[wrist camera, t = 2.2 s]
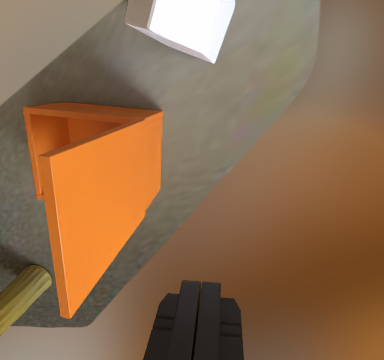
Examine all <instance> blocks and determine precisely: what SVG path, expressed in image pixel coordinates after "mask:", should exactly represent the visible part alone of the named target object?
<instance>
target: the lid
mask: <svg viewBox="0 0 384 360" xmlns="http://www.w3.org/2000/svg"><path fill="white" fill-rule="evenodd" d="M38 159H39V166H40V173H41V180H42V187H43V194H44V201H45V208H46V215H47V222H48V229H49V236H50V243H51V250H52V257H53V264H54V271H55V278H56V286H57V293H58V300H59V307H60V314H61V317H64V318H69V319H71V317H72V316H73V314H74V313H75V312H76V310H77V309H78V308H79V306H80V305H81V303H82V302H83V301H84V299H85V298H86V297H87V295H88V294H89V292H90V291H91V290H92V288H93V287H94V286H95V284H96V283H97V281H98V280H99V279H100V277H101V276H102V275H103V273H104V272H105V270H106V269H107V268H108V266H109V265H110V264H111V262H112V261H113V259H114V258H115V257H116V255H117V254H118V253H119V251H120V250H121V248H122V247H123V246H124V244H125V243H126V241H127V240H128V239H129V237H130V236H131V235H132V233H133V232H134V230H135V229H136V228H137V226H138V225H139V224H140V222H141V221H142V219H143V218H144V217H145V175H146V120H145V119H138V120H135V121H133V122H130V123H127V124H124V125H121V126H119V127H116V128H113V129H110V130H108V131H105V132H102V133H99V134H96V135H94V136H91V137H88V138H85V139H82V140H80V141H77V142H74V143H71V144H68V145H66V146H63V147H60V148H57V149H54V150H52V151H49V152H46V153H43V154H40V155H38Z"/></svg>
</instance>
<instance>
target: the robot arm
mask: <svg viewBox="0 0 384 360" xmlns="http://www.w3.org/2000/svg"><path fill="white" fill-rule="evenodd" d="M220 291H221V283H215V282H202V288H201V282H200V281H187V280H183V281H182V284H181V289H180V293H179V294H171V293H168V294H167V295H166V296H165V297H164V299H163V300H162V301H161V303H160V304H159V307H158V311H157V314H156V319H155V321H154V324H153V329H152V331H151V335H150V338H149V341H148V345H147V349H146V352H145V355H144V359H143V360H244V356H243V340H242V327H241V311H240V309H239V307H238V305H237V303H236V301H235V299H233V298H220Z"/></svg>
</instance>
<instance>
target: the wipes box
mask: <svg viewBox="0 0 384 360" xmlns="http://www.w3.org/2000/svg"><path fill="white" fill-rule="evenodd" d="M23 113H24V119H25V125H26V132H27V138H28V145H29V151H30V158H31V164H32V171H33V178H34V184H35V191H36V197H37V199H41V200H44V194H43V187H42V180H41V173H40V166H39V159H38V155H40V154H43V153H46V152H49V151H52V150H54V149H57V148H60V147H63V146H66V145H68V144H71V143H74V142H77V141H80V140H82V139H85V138H88V137H91V136H94V135H96V134H99V133H102V132H105V131H108V130H110V129H113V128H116V127H119V126H121V125H124V124H127V123H130V122H133V121H135V120H138V119H145V120H146V175H145V210H146V209H147V208H148V206H149V205H150V203H151V202H152V200H153V199H154V197H155V196H156V194H157V193H158V192H159V190H160V182H161V150H162V118H163V111H157V110H146V109H135V108H125V107H114V106H103V105H92V104H81V103H70V102H60V103H52V104H44V105H35V106H27V107H23Z"/></svg>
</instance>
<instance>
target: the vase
mask: <svg viewBox="0 0 384 360" xmlns="http://www.w3.org/2000/svg"><path fill="white" fill-rule="evenodd" d="M51 282H52V280H51V276H50V274H49V273H48V272H47V271H46V270H45V269H44V268H42V267H40V266H37V265H30V266H28V267H26V268H25V269H24V271H23V272H22V273H21V274H19V275H18V276H17V277H16V278H15V279H14V280H13V281H12V282H11V283H10V284H9V285H8V286H7V287H6V288H5V289H4V290H3V291H2V292H1V293H0V336H1V335H2V334H3V333H4V332H5V330H6V329H7V328H8V327H9V326H10V325H11V324H12V323H13V322H14V321H16V320H17V319H18V318H19V317H20V316H21V315H22V314H23V313H24V312H25V311H26V310H27V309H28V308H29V306H30V305H31V304H32V303H33V302H34V301H35V300H36V299H37V298H38V297H39V296H40V295H41V294H42V293H43V292H44V291H45V290H46V289H47V288H48V287H49V286H50V285H51Z"/></svg>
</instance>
